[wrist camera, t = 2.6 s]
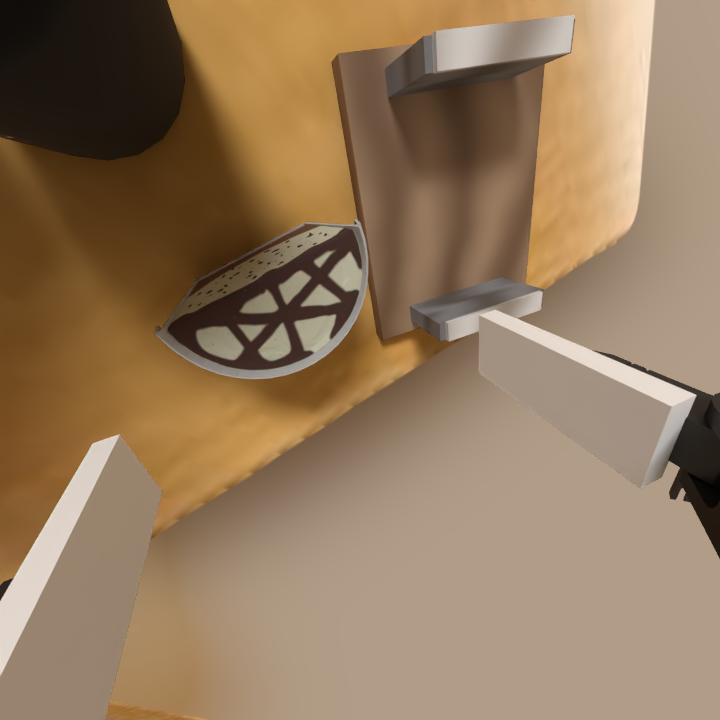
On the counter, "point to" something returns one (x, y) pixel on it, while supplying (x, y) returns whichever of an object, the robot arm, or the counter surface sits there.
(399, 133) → the holder
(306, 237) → the food container
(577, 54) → the counter surface
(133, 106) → the coffee jar
